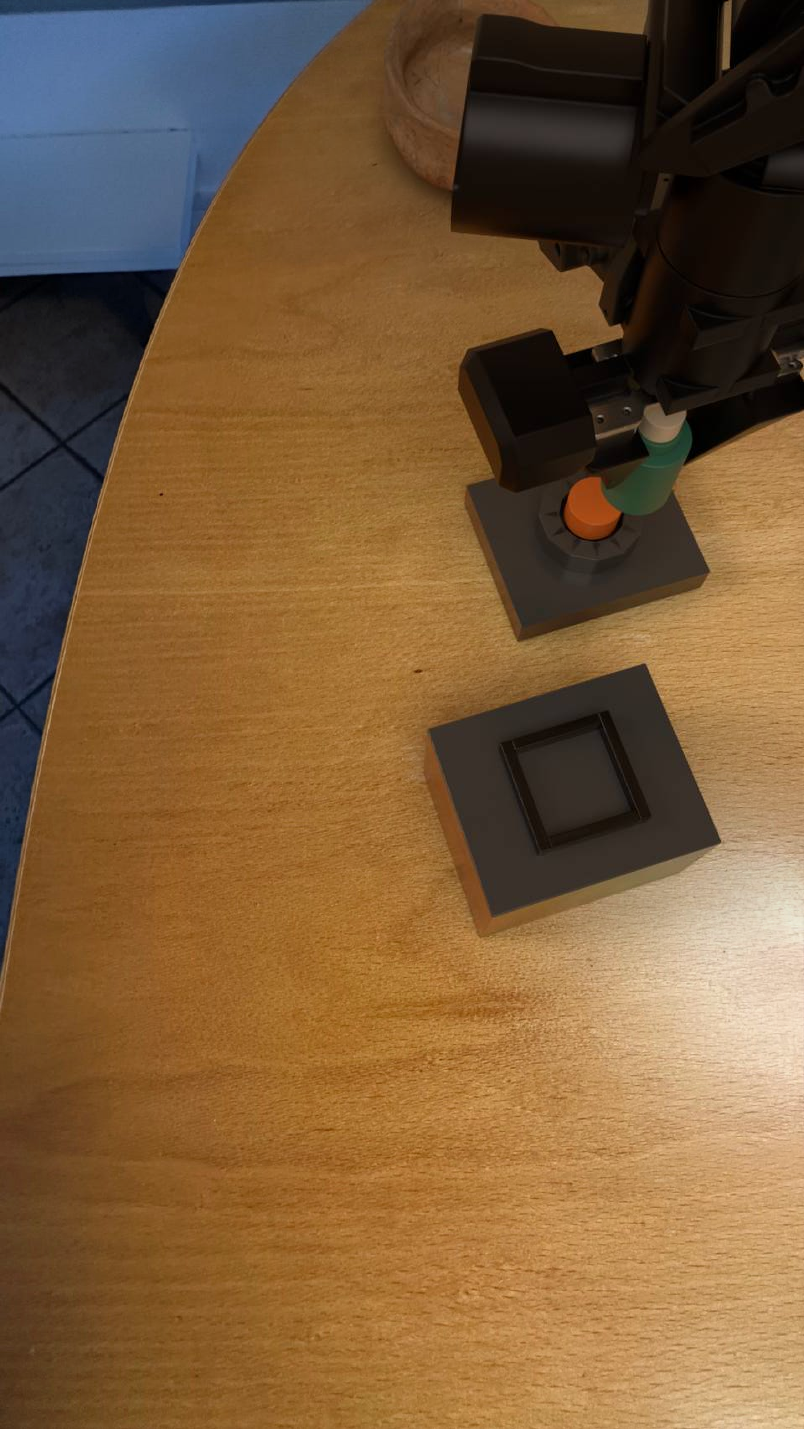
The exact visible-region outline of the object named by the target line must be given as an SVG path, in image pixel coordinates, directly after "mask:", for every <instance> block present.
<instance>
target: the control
mask: <svg viewBox="0 0 804 1429" xmlns="http://www.w3.org/2000/svg"><path fill="white" fill-rule="evenodd" d="M589 477H600V475H599V474H595V475H592V474H588V473H586V472H584V471H583V470H582V469H581V470H580V471H578V472H577V473H576V474H574V475H573V476H571V477H568V478H564V479H561V480H558V481H555V482H551V483H548V484H545V485H541V486H538V487H535V488H531V489H528V490H525V491H522V492H518V493H514V492H512V491H509V490H507V489H505V488H502V487H500V486H498V483H497V481H496V479H495V477H491V478H488V479H485V480H481V481H478V482H475V483H471V484H467V485H466V487H465V496H464V507H465V510H466V512H467V515H468V517H469V520H470V522H471V524H472V527H473V530H474V533H475V535H476V538H477V540H478V542H479V545H480V546H479V547H480V548H481V550H482V553H483V556H484V558H485V561H486V563H487V566H488V569H489V572H490V574H491V576H492V579H493V582H494V584H495V587H496V589H497V593H498V595H499V597H500V600H501V602H502V605H503V608H504V610H505V613H506V616H507V618H508V620H509V623H510V626H511V628H512V632H513V634H514V636H515V640H516V641H517V643H520V642H523V641H526V640H529V639H533V638H537V637H539V636H542V635H543V636H544V635H546V634H550V633H552V632H557V631H559V630H563V629H566V628H570V627H574V626H576V625H580V624H583V623H587V622H590V621H593V620H596V619H601V618H603V617H606V616H610V615H613V614H616V613H621V612H623V611H627V610H630V609H634V608H637V607H640V606H643V605H647V604H651V603H653V602H657V601H661V600H663V599H668V598H670V597H673V596H677V595H681V594H683V593H687V592H690V591H694V590H696V589H701V588H702V586H703V585H704V583H705V582H706V580H707V578H708V576H709V574H710V573H711V570H710V568H709V565H708V562H707V561H706V559H705V556H704V555H703V552H702V550H701V548H700V546H699V544H698V542H697V540H696V537H695V535H694V532H693V531H692V529H691V527H690V524H689V522H688V519H687V517H686V515H685V513H684V511H683V510H682V507H681V505H680V503H679V501H678V498H677V496H676V493H675V492H674V490H673V489H672V491H671V493H670V495H669V497H668V499H667V501H666V502H665V504H664V505H663V506H662V507H661V508H659V509H658V510H656V511H654V512H652V513H649V514H646V515H630V514H626V513H623V512H621V515H620V517H619V520H618V522H617V525H616V527H615V529H614V530H613V531H612V532H611V533H610V534H609V535H607V536H606V537H603V538H601V539H595V540H590V539H584V538H581V537H579V536H577V535H576V534H574V533H573V532H572V531H571V530H570V529H569V528H568V526H567V524H566V522H565V519H564V510H565V506H566V503H567V499H568V496H569V493H570V490H571V489H572V487H573V486H574V485H575V484H576V483H577V482H579V481H580V480H582V479H585V478H589ZM600 478H601V477H600Z"/></svg>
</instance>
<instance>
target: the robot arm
mask: <svg viewBox="0 0 804 1429" xmlns="http://www.w3.org/2000/svg"><path fill="white" fill-rule="evenodd" d="M729 1H730V0H648V1H647V14H646V18H645V22H644V27H643V31H642V33H632V32H621V31H613V30H611V31H610V30H600V29H591V28H590V29H589V28H578V27H567V26H560V27H558V26H549V25H543V24H539V23H536V22H533V21H530V20H527V19H524V18H521V17H515V16H506V15H495V14H482V15H481V16H480V17H478V18H477V20H476V27H475V34H474V41H473V48H472V55H471V62H470V69H469V76H468V83H467V90H466V97H465V104H464V111H463V118H462V125H461V132H460V139H459V146H458V153H457V160H456V167H455V174H454V181H453V190H452V191H451V204H450V206H451V207H450V232H451V233H457V234H467V235H479V236H486V237H496V238H507V239H515V240H516V239H518V240H526V241H527V240H528V241H536V242H537V243H538V247H539V249H540V251H541V253H542V254H543V255H544V256H545V257H546V259H547V260H548V261H549V262H550V263H551V265H552V266H553V267H554V268H555V270H556V271H558V272H559V273H565V272H568V271H573V270H576V269H579V268H583V267H588V268H590V269H591V271H592V272H593V273H594V274H595V276H597V277H598V278H599V279H600V281H601V282H602V283H603V285H602V289H601V293H600V297H599V301H598V307H599V309H600V311H601V313H602V315H603V317H604V319H605V321H606V322H607V325H608V327H610V328H611V327H614V326H618V325H620V327H621V329H622V331H623V334H622V337H620V338H617V339H614V340H610V341H607V342H602V343H600V344H597V345H594V346H590V347H587V348H583V349H580V350H577V351H573V352H570V353H566V354H564V352H563V350H562V348H561V346H560V343H559V341H558V339H557V337H556V335H555V333H554V331H553V329H550V328H545V327H539V328H535V329H532V330H529V331H525V332H522V333H519V334H514V335H512V336H508V337H504V338H501V339H497V340H495V341H494V340H493V341H490V342H487V343H485V344H480V345H477V346H473V347H469V348H467V350H466V352H465V353H464V356H463V359H462V361H461V362H460V365H459V368H458V382H457V392H458V394H459V396H460V398H461V401H462V404H463V406H464V409H465V410H466V413H467V415H468V417H469V418H468V419H469V420H470V422H471V425H472V427H473V429H474V432H475V433H476V436H477V438H478V441H479V443H480V445H481V448H482V450H483V453H484V455H485V457H486V459H487V460H486V461H487V462H488V464H489V465H488V466H489V467H490V469H491V471H492V474H493V476H494V478H495V479H496V481H497V483H498V486H500V487H502V488H505V489H507V490H509V491H512V492H514V493H518V492H522V491H525V490H528V489H531V488H535V487H538V486H541V485H545V484H548V483H551V482H555V481H558V480H561V479H564V478H568V477H571V476H573V475H574V474H576V473H577V472H578V471H580V470H581V469H582V470H583V471H584V472H586V473H588V474H592V475H595V474H599V475H600V477H601V480H602V482H603V484H604V486H605V488H606V489H607V490H608V489H611V488H614V487H615V486H617V485H618V484H620V483H621V482H622V481H624V480H625V479H626V478H627V477H628V476H629V475H630V474H631V473H632V472H633V471H634V470H635V469H637V468H638V467H639V466H640V465H641V464H642V463H643V462H644V461H645V460H646V459H648V458H649V456H650V454H649V452H648V450H647V448H646V446H645V443H644V441H643V439H642V437H641V435H640V433H639V431H638V429H637V427H638V426H639V425H640V423H641V421H642V418H643V415H644V411H646V410H649V409H652V408H656V407H659V406H661V408H662V410H663V412H664V414H665V416H668V415H672V414H675V413H678V412H682V411H685V410H686V417H685V419H686V421H687V422H688V424H689V426H690V429H691V432H692V446H691V449H690V451H689V453H688V455H687V458H686V460H685V462H684V464H683V466H682V468H683V467H686V466H688V465H690V464H693V463H694V462H696V461H698V460H700V459H703V458H705V457H706V456H709V455H711V454H713V453H715V452H717V451H719V450H722V449H723V448H725V447H727V446H728V445H731V444H733V443H735V442H737V441H740V440H742V439H743V438H746V437H748V436H751V435H752V434H754V433H757V432H758V431H761V430H763V429H766V428H767V427H769V426H771V425H773V424H776V423H779V421H782V420H784V419H786V418H789V417H791V416H794V415H796V414H800V413H803V412H804V378H803V376H802V374H801V372H802V370H803V369H804V363H803V361H801V360H802V359H804V0H731V6H730V8H731V10H730V11H731V13H730V36H729V37H730V38H729V63H728V64H729V65H728V66H729V67H727V68H726V69H725V68H724V69H723V56H724V36H725V35H724V31H725V9H726V8H725V6H726V5H725V4H726V2H729Z"/></svg>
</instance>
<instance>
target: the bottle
mask: <svg viewBox="0 0 804 1429" xmlns="http://www.w3.org/2000/svg"><path fill="white" fill-rule="evenodd" d="M685 417H686V410H685V411H682V412H678V413H675V414H672V415H668V416H665V414H664V412H663V410H662V408H661V406H659V407H656V408H652V409H649V410H646V411H644V415H643V418H642V421H641V423H640V425H639V426H638V427H637V429H638V431H639V433H640V435H641V437H642V439H643V441H644V443H645V446H646V448H647V450H648V452H649V454H650V456H649V458H648V459H646V460H645V461H644V462H643V463H642V464H641V465H640V466H639V467H638V468H637V469H635V470H634V471H633V472H632V473H631V474H630V475H629V476H628V477H627V478H626V479H625V480H624V481H622V482H621V483H620V484H618V485H617V486H615V487H614V488H611V489H608V490H607V489H606V488H605V486H604V484H603V482H602V480H601V489H602V493H603V495H604V497H605V498H606V500H607V501H608V502H609V504H610V505H612V506H613V507H614V508H615V509H617V510H619V511H621V512H623V513H626V514H630V515H646V514H649V513H652V512H654V511H656V510H658V509H659V508H661V507H662V506H663V505H664V504H665V502H666V501H667V499H668V497H669V495H670V493H671V491H672V490H673V488H674V486H675V484H676V481H677V479H678V477H679V476H680V473H681V471H682V468H683V467H684V466H683V464H684V462H685V460H686V458H687V455H688V453H689V451H690V449H691V446H692V432H691V429H690V426H689V424H688V422H687V421H686V419H685ZM682 466H683V467H682Z"/></svg>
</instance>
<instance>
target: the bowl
mask: <svg viewBox="0 0 804 1429" xmlns="http://www.w3.org/2000/svg"><path fill="white" fill-rule="evenodd" d="M482 14H495V15H506V16H515V17H521V18H524V19H527V20H530V21H533V22H536V23H539V24H543V25H549V26H558V27H561V25H560V24H559V23H558V22H557V21H556V20H555V18H554V17H553V16H552V15H551V14H550V13H549V12H548V11H547V10H546V9H545V7H543V6H542V5H540V4H539V3H538V2H536V1H533V0H407V1H406V2H405V3H403V5H402V6H401V7H400V9H399V11H398V12H397V14H396V16H394V19H393V21H392V23H391V25H390V28H389V31H388V33H387V37H386V43H385V48H384V54H383V63H384V64H383V65H384V74H385V78H384V82H383V87H382V102H381V114H382V119H383V123H384V125H385V128H386V133H387V135H388V136H389V138H390V139H391V141H392V142H393V143H394V145H395V147H396V149H397V151H398V153H399V154H400V155H401V157H402V158H403V159H404V161H405V163H406V165H407V166H408V167H409V168H410V169H411V170H413V171H414V172H415V173H416V174H417V175H418V176H419V177H420V178H422V179H424V180H425V181H427V183H429V184H431V185H433V186H435V187H437V188H439V189H442V190H446V191H451V192H452V190H453V181H454V174H455V167H456V160H457V153H458V146H459V139H460V132H461V125H462V118H463V111H464V104H465V97H466V90H467V83H468V76H469V69H470V62H471V55H472V48H473V41H474V34H475V27H476V20H477V18H478V17H480V16H481V15H482Z"/></svg>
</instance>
